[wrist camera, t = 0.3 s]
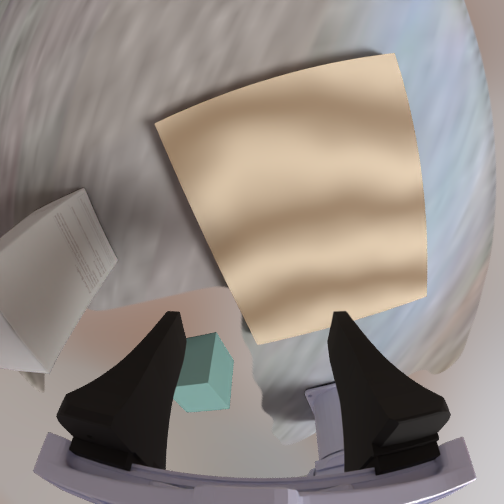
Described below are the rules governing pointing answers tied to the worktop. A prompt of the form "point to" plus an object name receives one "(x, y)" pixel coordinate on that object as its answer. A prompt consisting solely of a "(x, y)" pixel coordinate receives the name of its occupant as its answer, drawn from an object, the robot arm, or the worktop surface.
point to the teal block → (205, 375)
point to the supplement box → (49, 280)
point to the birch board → (308, 193)
